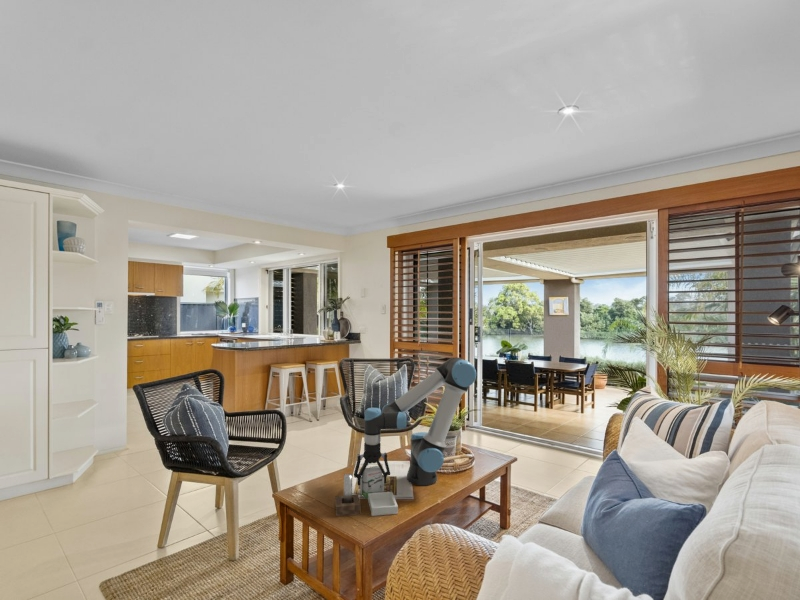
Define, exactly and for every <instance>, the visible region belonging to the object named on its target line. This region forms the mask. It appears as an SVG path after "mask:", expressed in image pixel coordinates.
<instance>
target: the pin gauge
mask: <svg viewBox="0 0 800 600" xmlns="http://www.w3.org/2000/svg"><path fill="white" fill-rule="evenodd" d="M343 495H344V503H352V495H353V474H352V473H344V475H343Z"/></svg>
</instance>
